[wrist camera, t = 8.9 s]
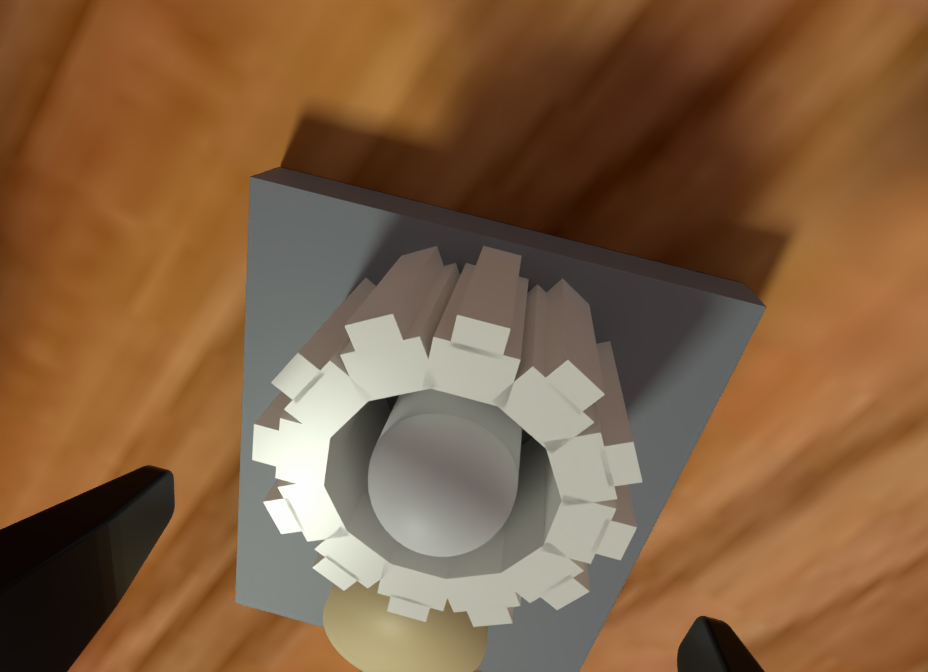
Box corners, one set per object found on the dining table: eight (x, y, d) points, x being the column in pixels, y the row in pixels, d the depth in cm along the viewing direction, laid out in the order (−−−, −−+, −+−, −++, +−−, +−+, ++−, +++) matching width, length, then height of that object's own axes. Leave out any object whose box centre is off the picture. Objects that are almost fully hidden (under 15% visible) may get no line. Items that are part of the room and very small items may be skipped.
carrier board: (255, 568, 21) (140, 762, 15) (278, 166, 14) (84, 233, 8) (565, 653, 20) (572, 887, 14) (744, 284, 13) (893, 442, 8)
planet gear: (314, 460, 16) (246, 571, 12) (344, 209, 13) (262, 263, 9) (564, 528, 16) (569, 662, 12) (663, 292, 12) (710, 381, 9)
